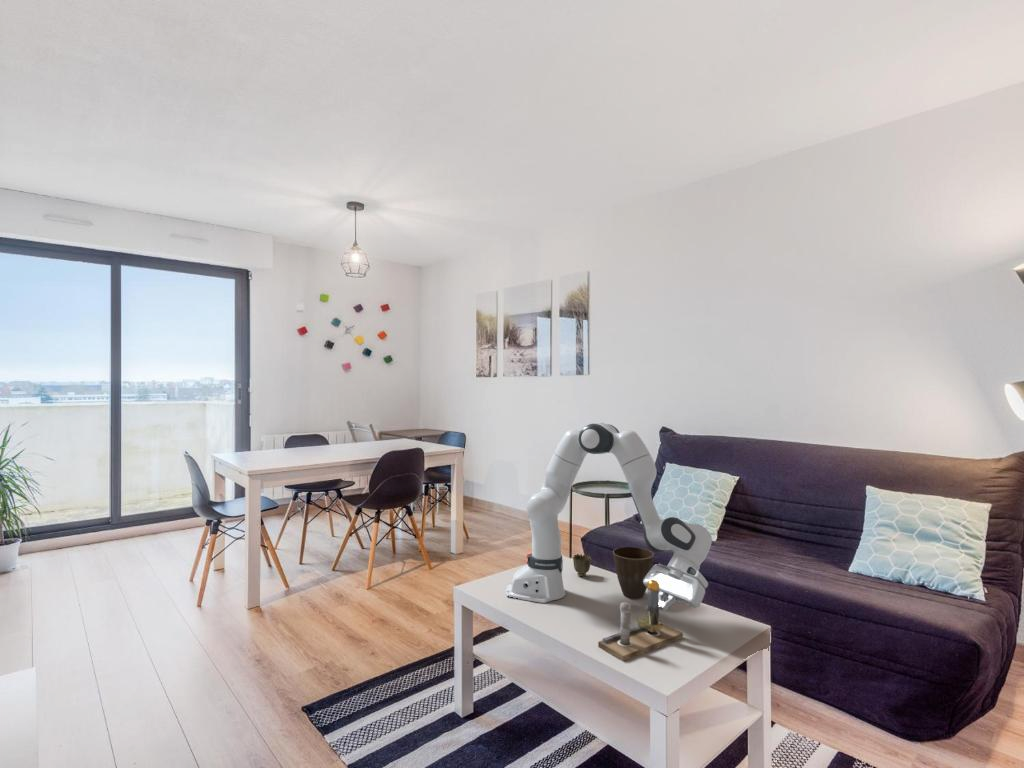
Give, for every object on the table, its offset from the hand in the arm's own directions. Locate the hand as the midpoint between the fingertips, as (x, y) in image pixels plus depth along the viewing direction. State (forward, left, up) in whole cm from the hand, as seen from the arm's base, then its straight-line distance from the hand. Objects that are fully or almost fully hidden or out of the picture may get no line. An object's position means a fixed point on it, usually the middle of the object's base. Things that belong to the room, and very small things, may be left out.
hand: (661, 608), depth 160 cm
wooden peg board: (-6, -6, -8) cm, 12 cm away
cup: (-27, +48, -9) cm, 56 cm away
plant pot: (-7, +31, -9) cm, 33 cm away
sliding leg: (-3, -2, -6) cm, 7 cm away
